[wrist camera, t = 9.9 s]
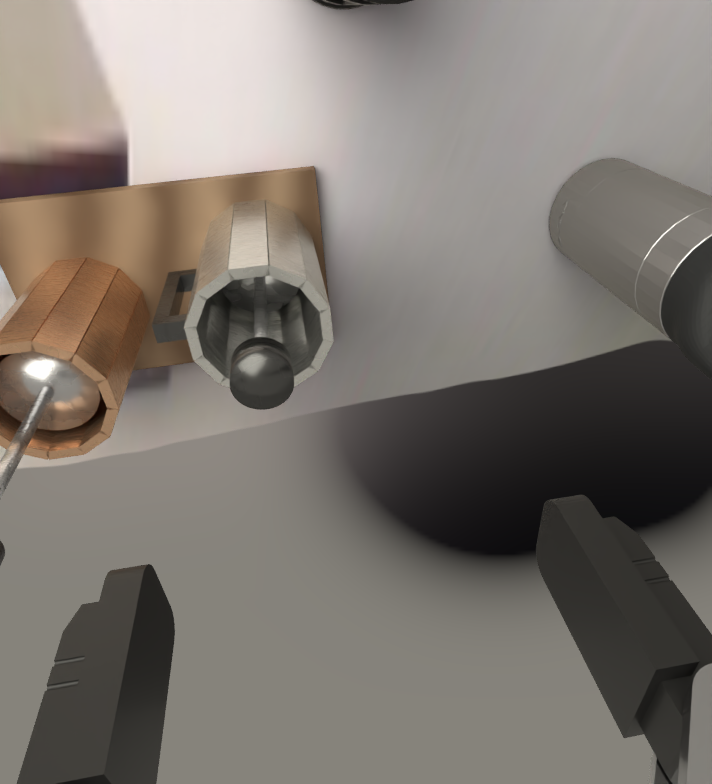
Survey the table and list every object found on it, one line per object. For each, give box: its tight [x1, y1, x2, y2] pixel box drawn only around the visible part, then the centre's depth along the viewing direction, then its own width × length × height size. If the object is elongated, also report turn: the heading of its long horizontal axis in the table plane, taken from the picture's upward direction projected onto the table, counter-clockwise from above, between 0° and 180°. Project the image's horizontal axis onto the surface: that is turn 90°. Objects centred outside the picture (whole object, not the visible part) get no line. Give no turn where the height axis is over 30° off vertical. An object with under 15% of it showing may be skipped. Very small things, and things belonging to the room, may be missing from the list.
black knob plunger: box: [0, 351, 101, 565], centre depth 32 cm, size 7×7×16 cm
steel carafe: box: [152, 199, 334, 388], centre depth 42 cm, size 12×9×14 cm
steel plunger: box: [221, 276, 299, 409], centre depth 38 cm, size 7×7×16 cm
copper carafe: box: [0, 257, 150, 460], centre depth 42 cm, size 12×9×14 cm
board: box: [0, 166, 329, 370], centre depth 48 cm, size 26×16×1 cm, turn 94°
